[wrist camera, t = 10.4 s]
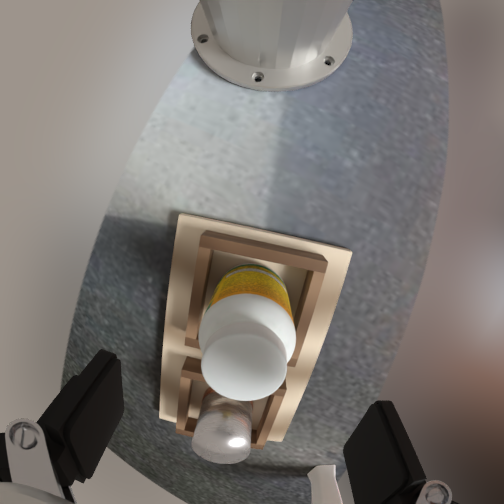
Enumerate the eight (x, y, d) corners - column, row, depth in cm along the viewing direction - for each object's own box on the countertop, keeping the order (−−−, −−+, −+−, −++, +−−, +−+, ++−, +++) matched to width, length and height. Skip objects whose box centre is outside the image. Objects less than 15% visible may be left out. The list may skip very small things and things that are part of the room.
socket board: (182, 213, 22) (170, 217, 19) (348, 249, 22) (360, 258, 19) (161, 411, 27) (154, 430, 24) (281, 435, 27) (282, 455, 24)
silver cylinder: (206, 378, 24) (193, 425, 18) (258, 388, 24) (256, 436, 18) (200, 412, 25) (189, 457, 19) (247, 421, 25) (244, 467, 19)
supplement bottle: (288, 324, 22) (301, 409, 13) (220, 327, 23) (197, 411, 13) (285, 258, 21) (302, 317, 12) (212, 262, 21) (176, 322, 12)
